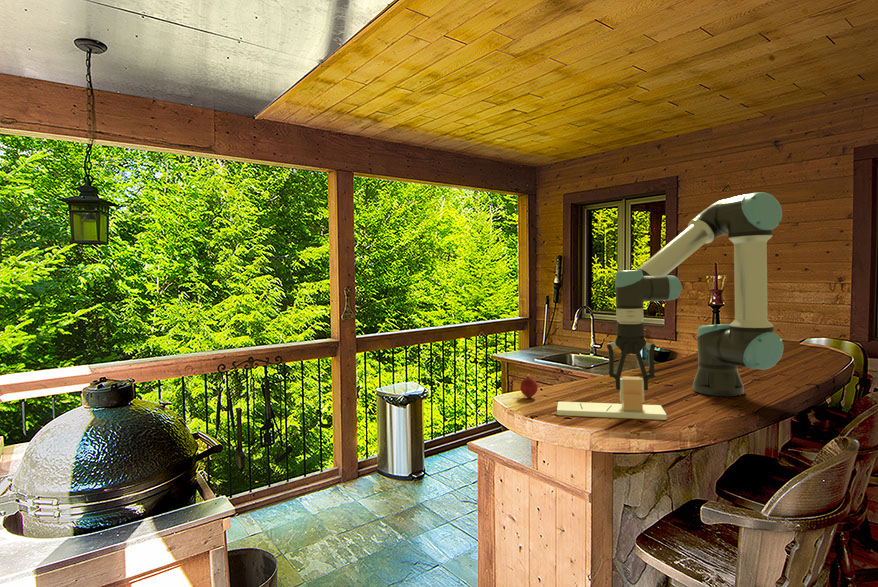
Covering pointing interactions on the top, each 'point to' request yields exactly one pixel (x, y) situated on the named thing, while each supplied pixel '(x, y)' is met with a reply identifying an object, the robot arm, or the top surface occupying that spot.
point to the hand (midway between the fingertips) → (631, 400)
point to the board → (609, 410)
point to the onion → (529, 387)
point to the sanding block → (632, 394)
